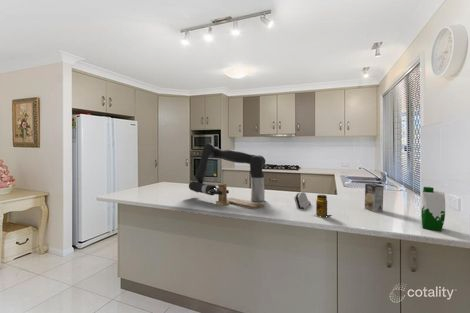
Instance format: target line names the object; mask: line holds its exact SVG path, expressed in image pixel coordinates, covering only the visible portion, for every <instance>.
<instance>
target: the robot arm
mask: <svg viewBox="0 0 470 313" xmlns="http://www.w3.org/2000/svg"><path fill="white" fill-rule="evenodd" d="M209 158H216V159H221V160H223V161H224V160H225V161H228V162H232V163H238V164H248V165H249V170H250V171H249V172H250V176H251V177H250V178H251V180H250V183H251V187H250V189H251V192H250V193H251V194H250V200H251V202H256V203H259V202H264V201H265V177H264V176H265V174H264V173H263V172H264V171H263V167H264V166H265V165H266V161H267V160H266V159H265V157H264V156H262V155H260V154H251V153H250V154H249V153H246V152H244V151H239V150H236V149H230V148H229V149H220V148H218V147H216V146H214V145H213V144H212V143H206V144H205V145H203V148H202V152H201V156H200V161H199V164H198V167H197V170H196V172H195V175H194V178H195V180H196V181H191V182H189V183H188V188H189V189H188V190H190V191H193V192H195V193H201V194H204V195H208V196H215V195H216V196H217V195H222V192H221V191H218V187H217V186H216V185H214V184H209V183H204V179H205V175H206V173H207V170H208V161H209ZM229 192H230V190H229V189H227V195H228V194H229Z"/></svg>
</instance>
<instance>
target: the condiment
mask: <svg viewBox="0 0 470 313" xmlns="http://www.w3.org/2000/svg"><path fill="white" fill-rule="evenodd" d="M316 197H317V198H316V201H315V202H316V203H315V204H316V207H315V215H317V216H316V217H318V216H321V217H320V218H323V217H326V216H327V214H328V199H327V197H328V196H327V195H326V194H318V195H316ZM326 218H327V217H326Z"/></svg>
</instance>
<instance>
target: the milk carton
mask: <svg viewBox="0 0 470 313" xmlns="http://www.w3.org/2000/svg"><path fill="white" fill-rule="evenodd" d="M422 189H423V190H422V198H421V225H422V229H424V230H430V231H434V232H440V233H441V232H442V231H443V230H442V229H443V227H444V224H445V219H446V196H445V192H443V191H436V190H434V187H431V186H423V188H422Z"/></svg>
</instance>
